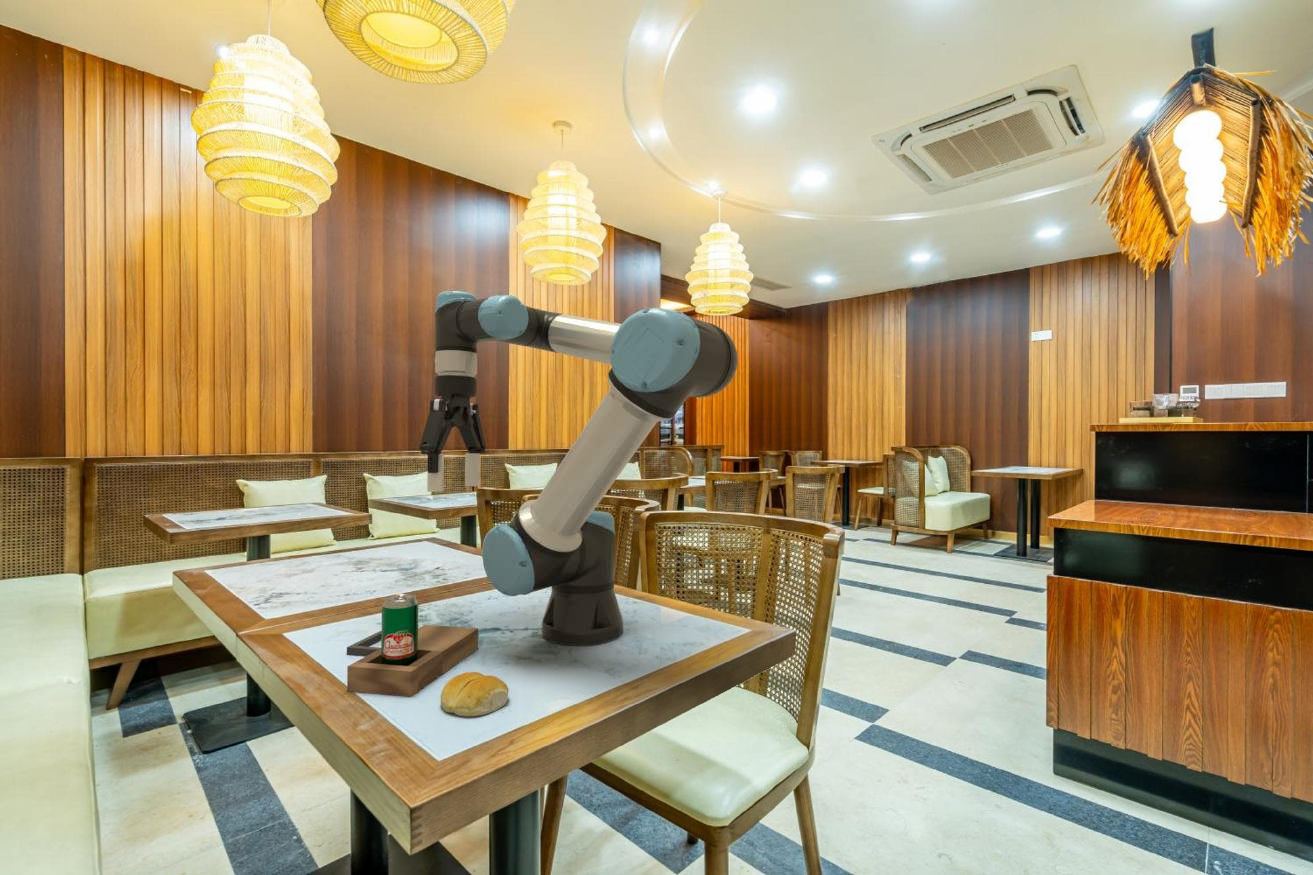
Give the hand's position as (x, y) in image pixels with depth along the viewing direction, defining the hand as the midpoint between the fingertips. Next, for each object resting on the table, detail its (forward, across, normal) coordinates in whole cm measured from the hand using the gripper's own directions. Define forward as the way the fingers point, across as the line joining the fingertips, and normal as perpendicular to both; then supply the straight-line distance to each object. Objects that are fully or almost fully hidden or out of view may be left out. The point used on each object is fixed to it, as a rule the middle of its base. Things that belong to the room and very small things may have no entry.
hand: (454, 488), depth 114 cm
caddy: (+27, +18, +4) cm, 32 cm away
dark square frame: (+27, +10, -6) cm, 29 cm away
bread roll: (+27, +28, +19) cm, 43 cm away
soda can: (+27, +23, +4) cm, 35 cm away
